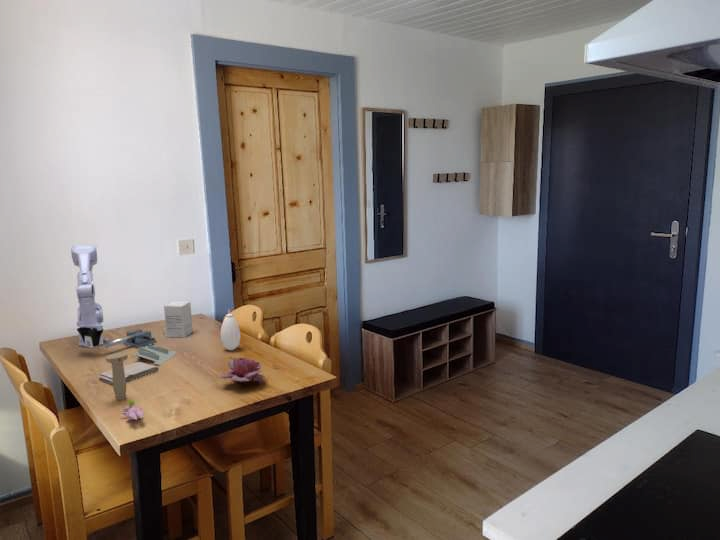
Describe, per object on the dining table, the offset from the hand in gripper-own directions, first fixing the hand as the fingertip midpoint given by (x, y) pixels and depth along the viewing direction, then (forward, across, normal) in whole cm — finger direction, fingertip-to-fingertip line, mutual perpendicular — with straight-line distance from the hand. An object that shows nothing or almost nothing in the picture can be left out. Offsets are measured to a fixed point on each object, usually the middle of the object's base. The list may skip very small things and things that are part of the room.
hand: (91, 344), depth 223 cm
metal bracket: (+5, +27, +9) cm, 29 cm away
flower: (+5, +78, +6) cm, 78 cm away
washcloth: (+5, +34, -8) cm, 35 cm away
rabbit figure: (+5, +66, -30) cm, 73 cm away
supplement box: (+5, +10, +37) cm, 39 cm away
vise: (+4, +7, +13) cm, 15 cm away
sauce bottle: (+5, +47, +32) cm, 57 cm away
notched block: (+1, 0, 0) cm, 1 cm away
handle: (+5, +50, -23) cm, 55 cm away
